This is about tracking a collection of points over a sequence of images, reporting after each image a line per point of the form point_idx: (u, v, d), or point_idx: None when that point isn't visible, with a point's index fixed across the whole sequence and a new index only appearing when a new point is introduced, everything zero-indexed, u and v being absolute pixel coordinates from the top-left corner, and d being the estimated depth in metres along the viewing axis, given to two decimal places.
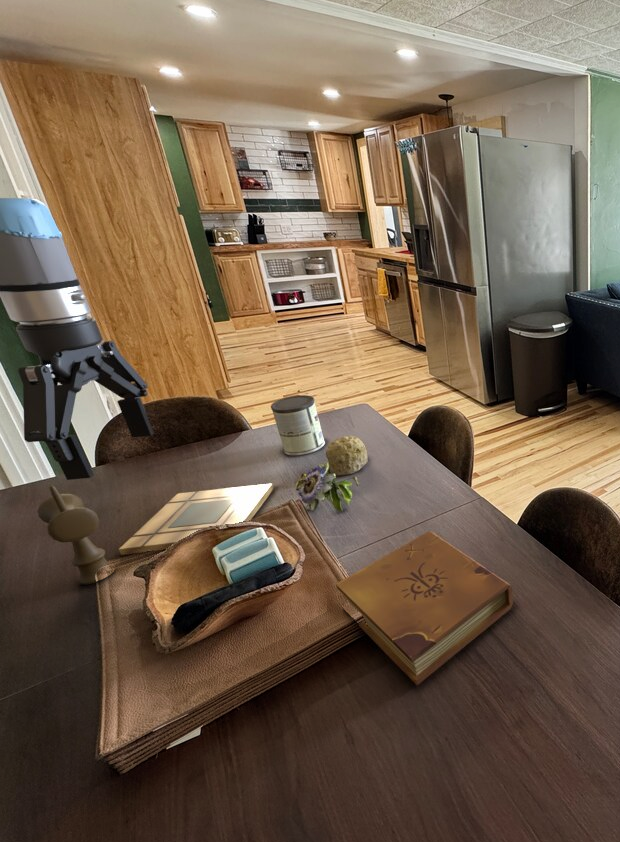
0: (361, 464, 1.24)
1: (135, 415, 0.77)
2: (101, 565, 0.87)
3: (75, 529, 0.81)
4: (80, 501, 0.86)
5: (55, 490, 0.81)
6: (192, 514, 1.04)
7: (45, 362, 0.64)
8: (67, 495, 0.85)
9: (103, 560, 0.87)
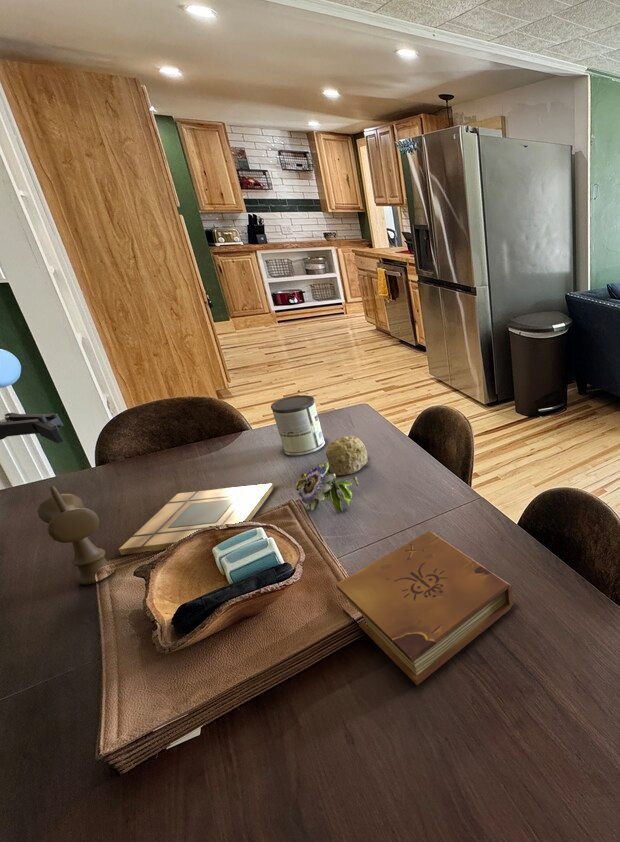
0: (361, 464, 1.24)
1: None
2: (101, 565, 0.87)
3: (76, 529, 0.81)
4: (80, 501, 0.86)
5: (55, 490, 0.81)
6: (192, 514, 1.04)
7: None
8: (67, 495, 0.85)
9: (103, 560, 0.87)
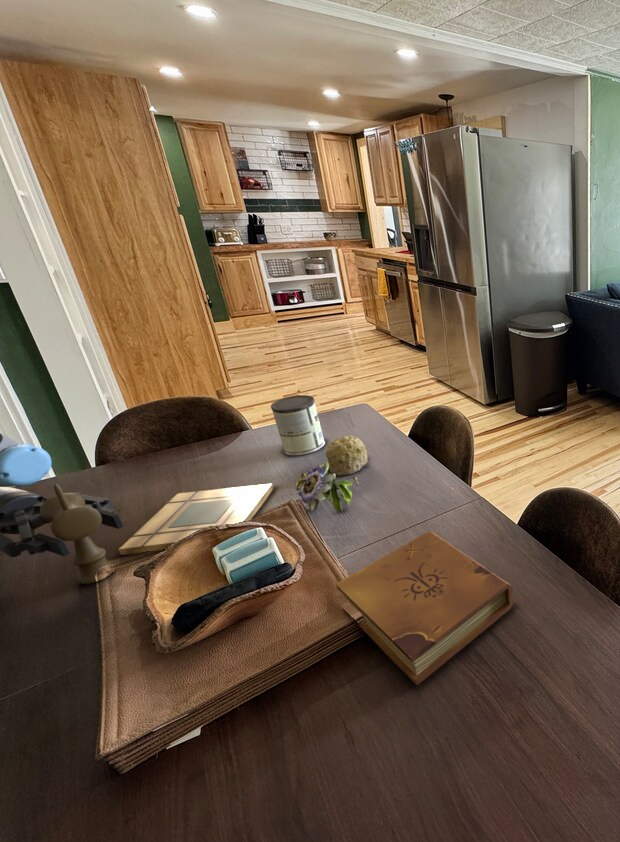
0: (361, 464, 1.24)
1: None
2: (101, 565, 0.87)
3: (79, 527, 0.81)
4: (82, 500, 0.87)
5: (59, 488, 0.81)
6: (192, 514, 1.04)
7: None
8: (70, 494, 0.85)
9: (104, 560, 0.88)
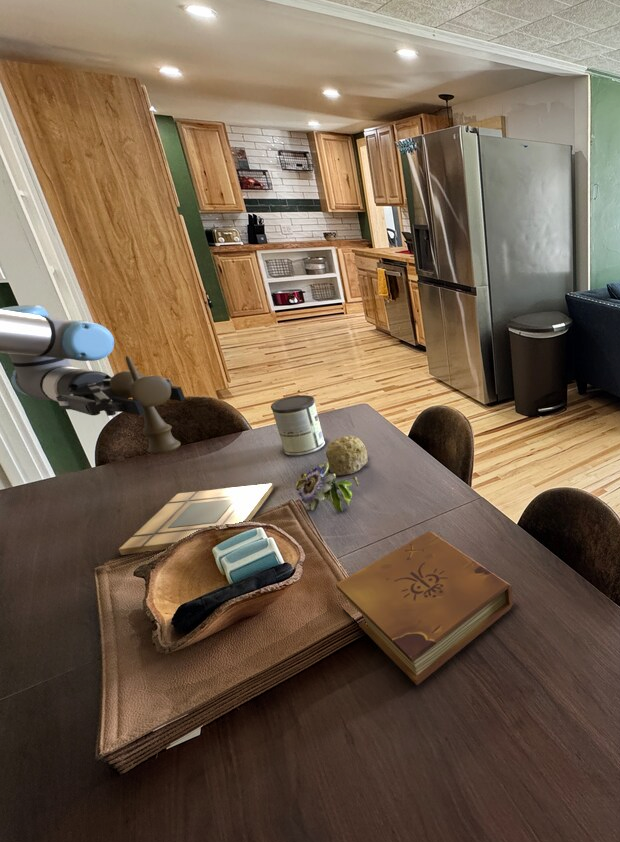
0: (361, 464, 1.24)
1: None
2: (169, 437, 0.95)
3: (153, 395, 0.89)
4: None
5: (130, 360, 0.88)
6: (192, 514, 1.04)
7: None
8: None
9: (170, 433, 0.95)
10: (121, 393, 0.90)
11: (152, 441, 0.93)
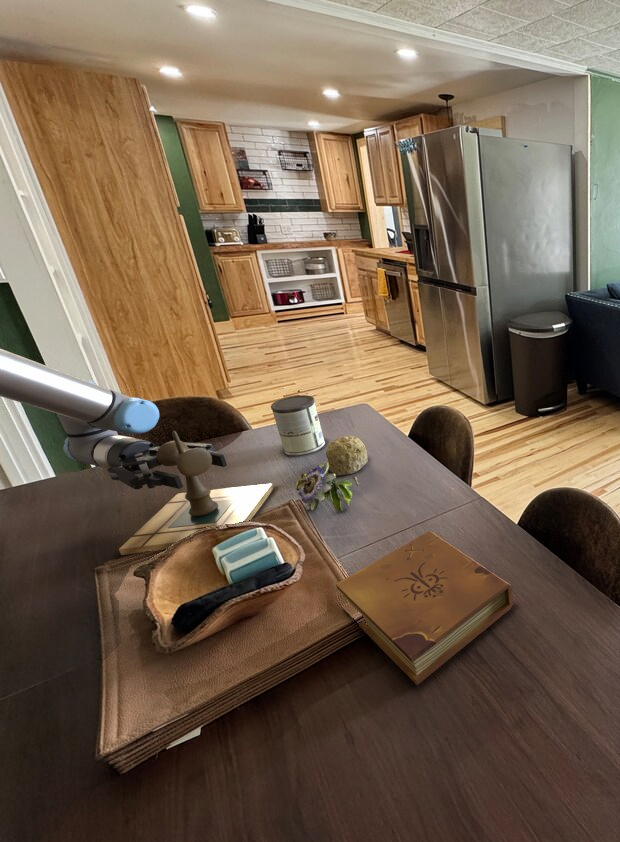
0: (361, 464, 1.24)
1: None
2: (208, 500, 1.03)
3: (197, 465, 0.97)
4: (187, 447, 1.02)
5: (176, 434, 0.97)
6: None
7: None
8: None
9: (209, 496, 1.04)
10: (166, 463, 0.99)
11: (193, 505, 1.02)
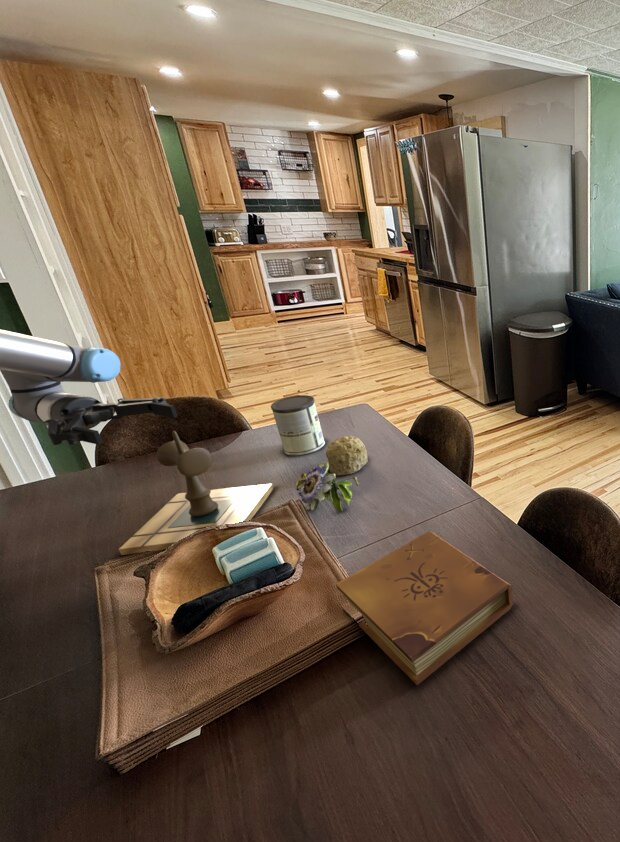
0: (361, 464, 1.24)
1: None
2: (208, 500, 1.03)
3: (197, 465, 0.97)
4: (187, 447, 1.02)
5: (176, 434, 0.97)
6: None
7: None
8: None
9: (209, 496, 1.04)
10: (166, 463, 0.99)
11: (193, 505, 1.02)
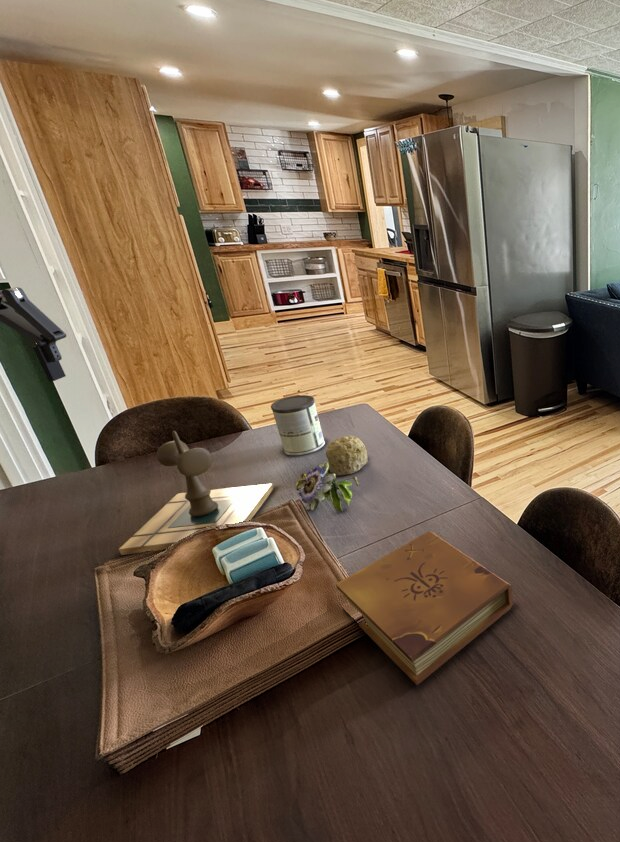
0: (361, 464, 1.24)
1: None
2: (208, 500, 1.03)
3: (197, 465, 0.97)
4: (187, 447, 1.02)
5: (176, 434, 0.97)
6: None
7: None
8: None
9: (209, 496, 1.04)
10: (166, 463, 0.99)
11: (193, 505, 1.02)
